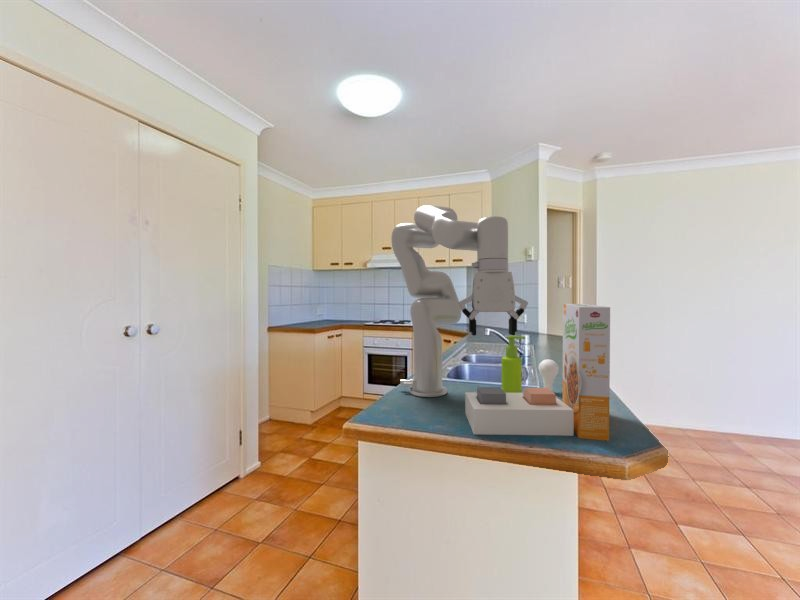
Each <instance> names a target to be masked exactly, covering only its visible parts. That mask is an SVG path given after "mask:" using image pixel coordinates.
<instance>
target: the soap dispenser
mask: <svg viewBox="0 0 800 600" xmlns="http://www.w3.org/2000/svg"><path fill="white" fill-rule="evenodd" d="M506 339H508V345H507V346H505V356H502V357H501V389H502V390H503V391H504V392H505V393H523V392H522V386H523V385H522V383H523V382H522V381H523V380H522V377H523V376H522V372H523V371H522V369H523V367H522V361H523V359H522V357H520V356H518V346H516V345H515V339H521V340H522V339H523V340H525V339H526V337H525V336H522V335H516V334H515V335H506Z"/></svg>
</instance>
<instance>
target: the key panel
mask: <svg viewBox="0 0 800 600" xmlns="http://www.w3.org/2000/svg"><path fill="white" fill-rule="evenodd" d="M464 397H465V398H464V399H465V407H464V408H465V416H466V419H467V422H468V424H469V426H470V428H471V431H472V433H473V435H489V436H490V435H492V436H493V435H496V436H498V435H501V436H505V435H507V436H569V437H570V436H574V433H575V430H574V410H573V409H572V408H570V407H569V406H568V405H566V404H565V403H564V402H562V400H561V399H559V398H558V397H557V396H556V405H530V404H528V403H527V402H526V401H525V400H524V399H523V392H522V393H506V405H501V404H480V403H479V402H478V400H477V391H475V392H471V391H469V392H467V391H466V392H465V396H464Z"/></svg>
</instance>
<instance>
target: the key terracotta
mask: <svg viewBox="0 0 800 600" xmlns="http://www.w3.org/2000/svg"><path fill="white" fill-rule="evenodd" d="M522 393H523V399H524V400H525V401H526V402H527V403H528V404H530V405H556V397H557V394H556V392H553V390H552V391H551V390H549V389H548V388H544V387H523V392H522Z"/></svg>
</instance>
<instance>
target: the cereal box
mask: <svg viewBox="0 0 800 600" xmlns="http://www.w3.org/2000/svg"><path fill="white" fill-rule="evenodd" d="M610 353H611V307H609V306H605V305H598V304H597V305H596V304H588V303H562V394H561V395H562V400H561V401H562V402H564V403H565V404H566V405H568V406H569V407H570V408H572V409H573V410H574V433H575V434H576V436H577V438H578V439H586V440H597V441H605V440H607V442H609V441H610V394H611V393H610V389H611V387H610V381H611V379H610V377H611V374H610V372H611V369H610V368H611V365H610V362H611V354H610Z"/></svg>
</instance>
